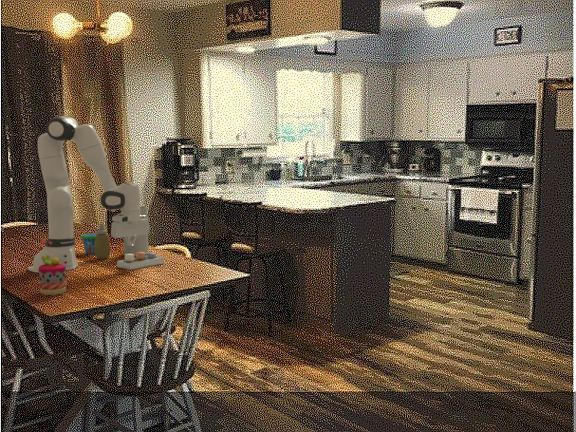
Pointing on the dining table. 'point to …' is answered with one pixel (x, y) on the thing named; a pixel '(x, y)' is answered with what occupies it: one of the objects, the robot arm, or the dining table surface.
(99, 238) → the squeeze bottle
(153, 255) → the slate button
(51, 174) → the robot arm
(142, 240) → the cylinder vase
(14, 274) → the dining table surface
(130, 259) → the ivory button
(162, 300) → the dining table surface
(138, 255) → the terracotta button
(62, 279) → the cake
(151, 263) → the panel
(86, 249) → the snack cup
